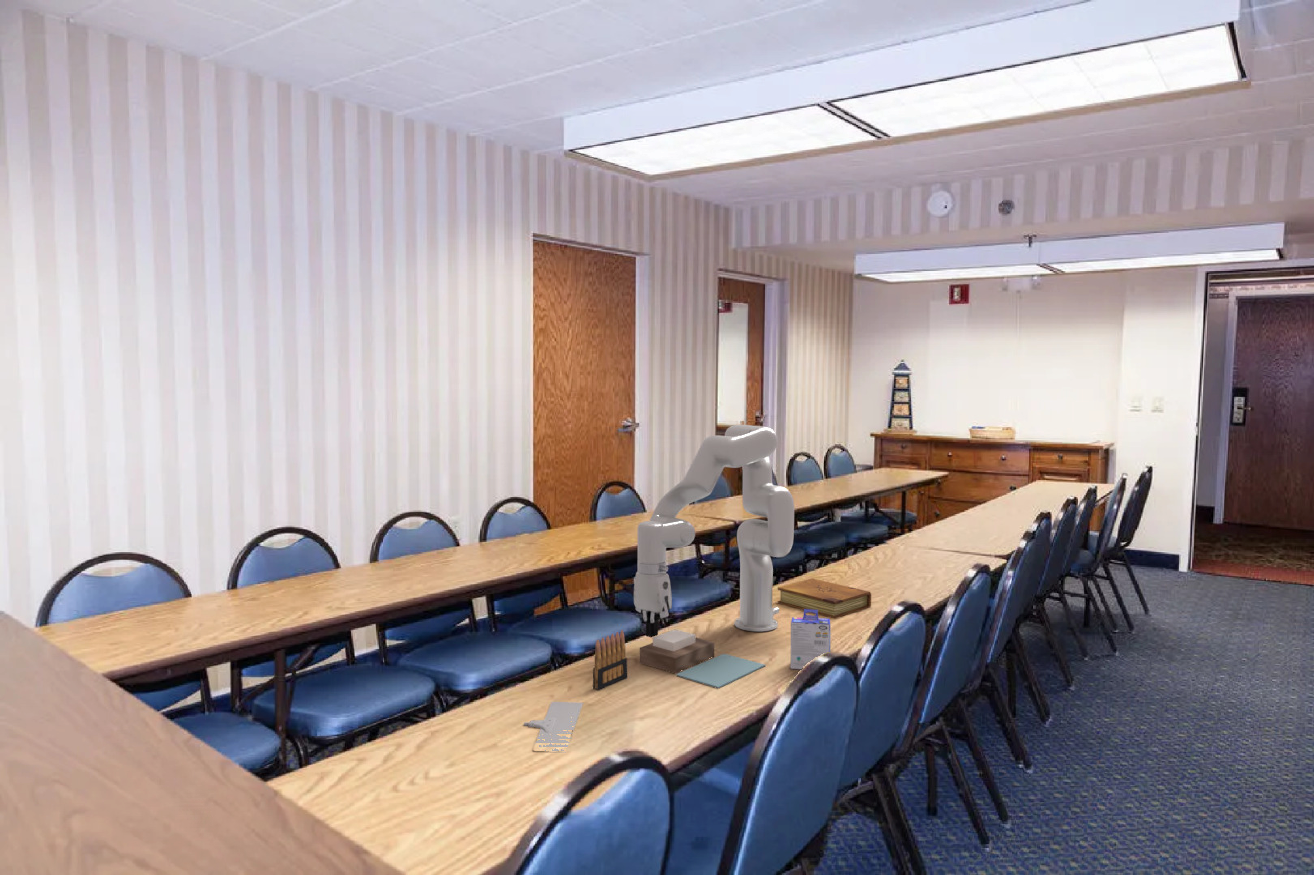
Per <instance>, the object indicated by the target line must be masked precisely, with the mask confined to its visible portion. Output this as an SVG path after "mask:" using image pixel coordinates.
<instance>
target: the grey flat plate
mask: <svg viewBox="0 0 1314 875" xmlns="http://www.w3.org/2000/svg"><path fill="white" fill-rule="evenodd" d="M583 704H584V702H578V701H577V702H575V701H573V702H571V701H569V702H568V701H552V702H550V704H549V706H548V710H547V712H546V714H545V717H544V718H543V719H542V720H540V719H539V720H535V719H533V720H530V721H529V722H525V721H524V722H523V727H528V728H530V727H536V728H535V729H539V728H540V729H539V732H538V734H539V735H540V736H539V735H538V734H537V737H536V739H540V740H538V741H536V740H535V742H534V744H535V743H550V744H549V745H546V746H545V745H543V747H569V745H566V744H565V745H561V744H560V745H556V744H555V745H552V744H551V743H569V744H570V742H568V741H566V740H559V739H570V740H571V739H572V736H571V737H570V738H568V737H566V736H562V737H561V736H559V735H557V734H572V735H573V733H574V730H575V727H576V725H577V722H578V719H579V716H580V712H581V710H582V708H583ZM571 717H572V718H571ZM571 721H572V722H571ZM572 726H574V727H572ZM563 730H567V731H563ZM568 730H573V732H572V733H571V732H569V731H568ZM567 732H568V733H567ZM542 734H543V735H542ZM550 734H551V735H550ZM542 739H545V741H544V740H542ZM551 739H552V740H551ZM539 747H542V746H541V745H539ZM545 751H546V750H545ZM552 751H559V750H558V749H556V748H555V749H554V750H553V749H552ZM561 751H564V750H562V749H561Z"/></svg>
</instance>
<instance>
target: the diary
mask: <svg viewBox="0 0 1314 875" xmlns="http://www.w3.org/2000/svg"><path fill="white" fill-rule="evenodd" d="M777 591H779V592H780V593H779V594H780V596H779V599H780V600H777V604H781V605H785V606H789V607H792V608H796V609H800V610H802V611H804V609H810V610H818V615H822V616H826V617H829V618H833V619H837V618H841V617H843V616H847V615H850V614H853V613H856V612H859V611H862V610H866V609H869V608H871V607H872V593H871V591H868V590H864V589H860V588H855V587H852V586H851V587H850V586H846V585H843V584H837V583H834V582H830V581H825V580H821V579H817V578H809V579H808V578H807V579H805V580H801V581H797V582H793V583H790V584H789V583H788V584H786V585H782V586H778V587H777Z"/></svg>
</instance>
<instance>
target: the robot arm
mask: <svg viewBox="0 0 1314 875" xmlns="http://www.w3.org/2000/svg"><path fill="white" fill-rule="evenodd" d="M724 432H725V433H724V435H718V434H717V435H709V436H708V437H706V438H705V439H704V440H703V441H702V442H701V444H700V446H699V448H698V450H697V452H696V455H695V456H694V458H693V460H692V462H691V464H690V466H689V468H688V469H687V472H686V474H685V476H684V477H683V478H682V480H681V481H680V482H678V483H677V484H676V485H675V486H673V488H671V489H670V490H669V491H668V492H667V493H665V495H664V496H663V497H661V499H660V500H659V502H658V503H657V505H656V507H655V508H654V510H653V512H652V515H651V516H650V519H649V520H645V521H641V522H639V523H638V525H637V531H636V532H637V571H636V572H635V577H634V586H633V604H634V606H635V611H636V612H638V613H640V614H641V615H642V617H643V618H642V619H643V621H644V622H645V636H646V637H648V638H653V637H655V636H658V635H659V622H660V621H661V619H662V618H663V619H664V618H668V617H669V616H670V615H669V611H670V610H671V609H672V606H673V605H672V604H673V600H672V588H671V580H670V576H669V574H668V573H667V572H668V571H669V567H668V566H667V548H675V549H676V548H684V547H685V548H686V547H687V546H689V545H691V544H692V542H694V540H695V537H696V530H695V527H694V526H693V524H692V523H690V521H687V520H685V519H681V518H677V516H678V514H679V512H681V510H683V509H684V508H685V507H686V506H687V505H690V504H691V503H694V502H697V501H699V500H703V499H704V498H706V497H708V496H710V495H711V494H712V492H713V491H714V488H715V486H716V484H717V483H718V480H719V478H720V476H721V474H722V472H723V470H724V468H733V469H736V468H741V467H742V468H741V469H742V506H743V509H744V511H745V512H747V514H750V515H753V516H758V517H763V518H767V520H762V519H758V518H757V519H756V518H751V519H746V520H744V521H743V522H741V524H740V525H739V526H738V529H737V531H736V532H737V533H736V541H737V546H738V552H739V563H740V564H739V566H740V567H739V568H740V570H739V572H740V573H739V574H740V576H739V588H740V589H739V617H738V618H736V619H735V620H734V626H735V627H736V628H737V629H739V630H743V631H746V632H747V631H748V632H761V633H762V632H769V631H773V630H775V629H777V628H778V625H779V624H778V621H777V620H776V619H775V618H774V615H777V614H778V613H779V614H780V608H779V607H777V606H775V607H773V578H774V577H773V574H774V573H773V572H774V569H773V567H774V566H773V561H772V558H771V557H773V558H775V557H776V558H783V557H786V556H787V555H788V554H789V553H790V552H791V549H792V547H793V545H794V535H795V532H794V531H795V501H794V497H793V496H792V493H791V492H790V489H787V488H786V487H784V486H782V485H775V484H774V483H773V472H772V471H773V470H772V462H771V459H770V456H771V455H772V454H773V453H774V452H775V451H776V449H777V447H778V442H779V441H778V440H779V439H778V435H777V434H776V432H775V431H774V430H773V429H772V428H771V427H768V426H762V425H749V424H734V425H731V426H729V427H728V428H726V431H724Z"/></svg>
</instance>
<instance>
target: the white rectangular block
mask: <svg viewBox="0 0 1314 875" xmlns="http://www.w3.org/2000/svg"><path fill="white" fill-rule="evenodd" d="M695 637H696V634H695V633H691V632H687V631H683V630H679V629H676V628H675V629H672V630H669V631H667V632H664V633H661V634H658V635H657V636H654V637H652V643H653V646H656V647H659V648H663V649H667V650H670V651H676V650H679V649H681V648H684V647H686V646H689V645H691V644H694V643H695Z"/></svg>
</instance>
